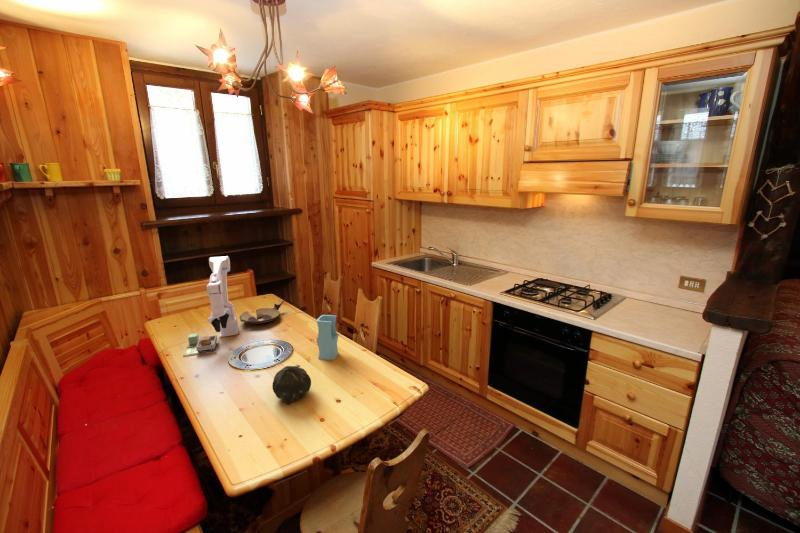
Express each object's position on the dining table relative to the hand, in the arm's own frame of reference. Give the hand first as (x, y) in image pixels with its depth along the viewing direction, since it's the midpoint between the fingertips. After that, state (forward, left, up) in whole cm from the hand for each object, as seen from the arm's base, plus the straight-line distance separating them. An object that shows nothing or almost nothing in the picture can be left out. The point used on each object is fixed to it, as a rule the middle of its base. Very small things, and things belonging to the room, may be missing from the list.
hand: (221, 329), depth 189 cm
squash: (-32, +58, -10) cm, 67 cm away
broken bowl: (-20, -28, -10) cm, 36 cm away
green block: (+16, -10, -10) cm, 21 cm away
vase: (-50, +30, -10) cm, 59 cm away
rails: (+11, 0, -9) cm, 14 cm away
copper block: (+8, +2, -7) cm, 10 cm away
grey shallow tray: (+8, 0, -9) cm, 12 cm away
